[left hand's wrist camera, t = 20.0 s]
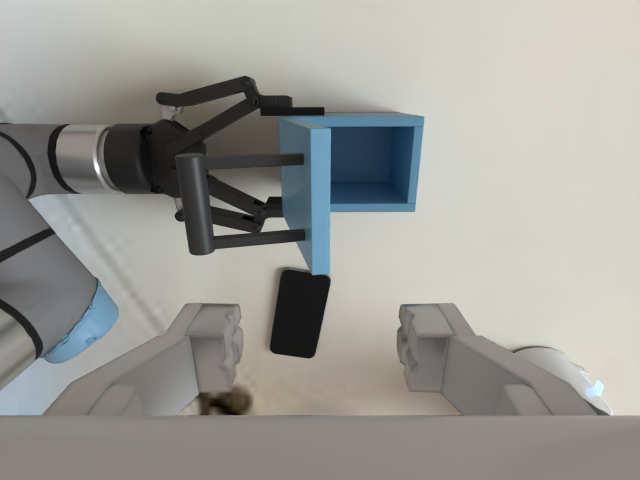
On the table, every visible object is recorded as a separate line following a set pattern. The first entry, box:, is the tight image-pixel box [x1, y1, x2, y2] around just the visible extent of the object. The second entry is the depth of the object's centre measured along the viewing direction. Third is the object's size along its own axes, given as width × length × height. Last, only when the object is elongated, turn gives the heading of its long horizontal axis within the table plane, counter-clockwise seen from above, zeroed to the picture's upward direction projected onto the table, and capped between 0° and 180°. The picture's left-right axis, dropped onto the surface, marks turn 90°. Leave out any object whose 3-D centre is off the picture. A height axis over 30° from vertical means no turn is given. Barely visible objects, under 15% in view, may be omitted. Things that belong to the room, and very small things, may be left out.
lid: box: [175, 117, 331, 275], centre depth 27 cm, size 14×9×9 cm
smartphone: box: [270, 268, 331, 358], centre depth 53 cm, size 7×1×15 cm
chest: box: [287, 112, 424, 212], centre depth 40 cm, size 13×9×11 cm
